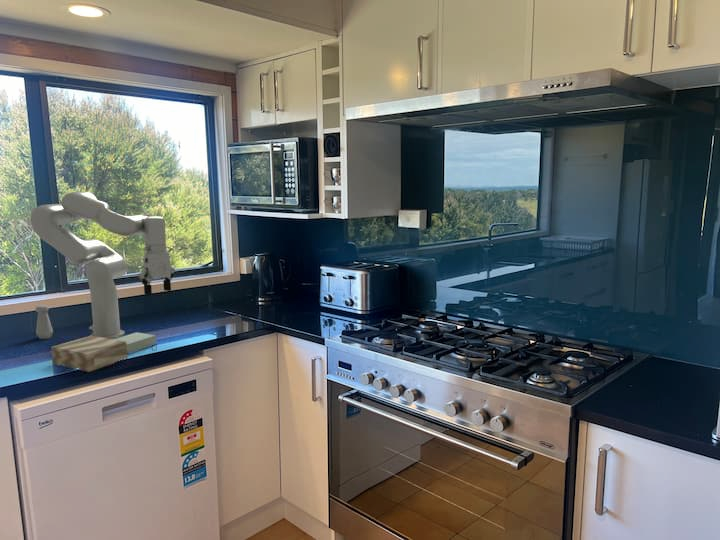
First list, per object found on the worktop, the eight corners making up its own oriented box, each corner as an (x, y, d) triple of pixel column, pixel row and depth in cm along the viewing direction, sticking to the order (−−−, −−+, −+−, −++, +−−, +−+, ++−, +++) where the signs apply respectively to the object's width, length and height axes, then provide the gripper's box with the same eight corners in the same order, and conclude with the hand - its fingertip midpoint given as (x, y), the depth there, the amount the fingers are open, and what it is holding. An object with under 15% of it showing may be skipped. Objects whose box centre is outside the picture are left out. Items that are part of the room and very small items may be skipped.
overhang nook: (53, 363, 181) (51, 346, 180) (92, 351, 194) (91, 335, 193) (88, 371, 173) (87, 354, 172) (127, 358, 186) (126, 341, 185)
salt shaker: (38, 336, 214) (35, 304, 211) (54, 335, 216) (51, 303, 213) (35, 340, 208) (31, 307, 206) (51, 338, 210) (48, 306, 208)
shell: (108, 350, 195) (107, 341, 195) (137, 341, 207) (136, 332, 206) (127, 354, 191) (126, 344, 190) (156, 344, 202) (155, 335, 202)
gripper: (145, 252, 196) (147, 297, 198) (179, 247, 211) (181, 289, 214) (130, 250, 199) (133, 295, 202) (165, 246, 214) (167, 287, 217)
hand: (157, 292), depth 208 cm, fingers open, 9 cm apart
